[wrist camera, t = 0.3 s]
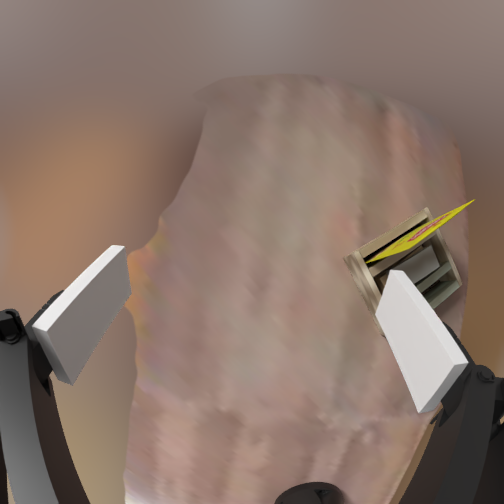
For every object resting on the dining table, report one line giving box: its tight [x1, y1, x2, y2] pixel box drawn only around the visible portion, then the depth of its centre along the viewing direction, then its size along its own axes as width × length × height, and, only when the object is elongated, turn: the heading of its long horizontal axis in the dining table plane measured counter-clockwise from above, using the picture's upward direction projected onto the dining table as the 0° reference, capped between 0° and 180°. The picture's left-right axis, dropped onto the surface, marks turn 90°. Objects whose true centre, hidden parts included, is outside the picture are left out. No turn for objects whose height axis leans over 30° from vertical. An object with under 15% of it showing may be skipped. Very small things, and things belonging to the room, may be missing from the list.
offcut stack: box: [372, 245, 440, 296], centre depth 45 cm, size 5×12×6 cm, turn 118°
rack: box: [343, 208, 463, 336], centre depth 45 cm, size 16×18×6 cm
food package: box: [364, 200, 474, 263], centre depth 39 cm, size 15×1×20 cm, turn 118°
